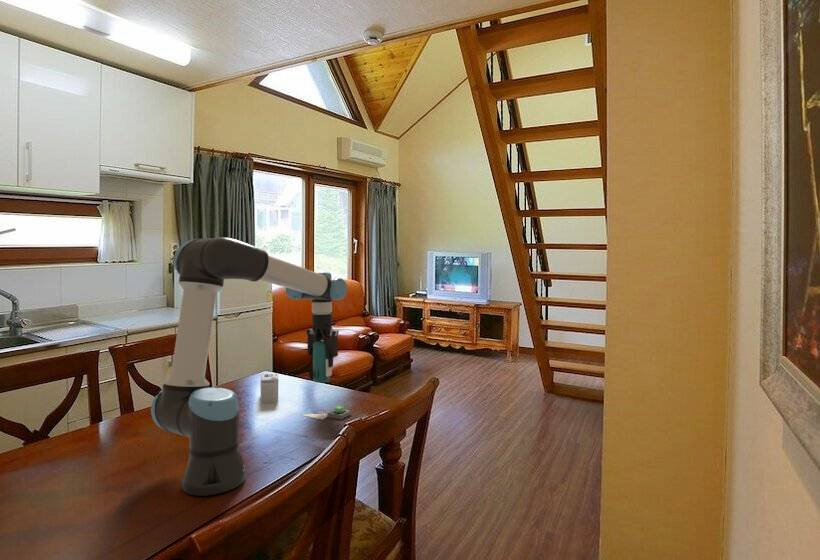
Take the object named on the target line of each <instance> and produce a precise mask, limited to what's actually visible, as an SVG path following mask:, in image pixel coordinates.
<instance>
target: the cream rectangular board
mask: <svg viewBox="0 0 820 560" xmlns="http://www.w3.org/2000/svg"><path fill="white" fill-rule="evenodd" d="M302 416H303V417H307V418H310V419H311V418H312V419H317V420H325V419H326V418H328V417H327V414H325V413H324V414H313V413H307V414H302Z"/></svg>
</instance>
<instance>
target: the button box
mask: <svg viewBox="0 0 820 560" xmlns="http://www.w3.org/2000/svg"><path fill="white" fill-rule="evenodd" d="M327 412H328V413H327V418H331V419H334V420H335V419H336V420H343V419H345V418H347V417H350V416H351V415H352V411H351V410H348V409H344V412H343V413H340V414H337V413H335V412H334V409H333V410H331V411H327Z"/></svg>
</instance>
